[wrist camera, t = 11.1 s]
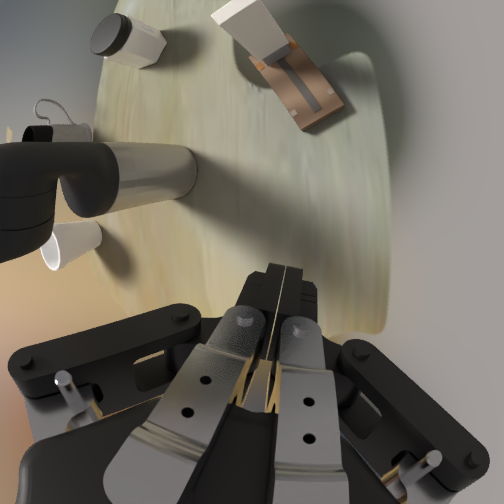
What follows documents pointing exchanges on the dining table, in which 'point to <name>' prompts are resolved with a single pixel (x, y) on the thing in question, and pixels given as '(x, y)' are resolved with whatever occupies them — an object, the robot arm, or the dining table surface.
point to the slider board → (300, 87)
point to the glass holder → (57, 130)
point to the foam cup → (70, 242)
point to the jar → (127, 41)
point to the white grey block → (253, 29)
